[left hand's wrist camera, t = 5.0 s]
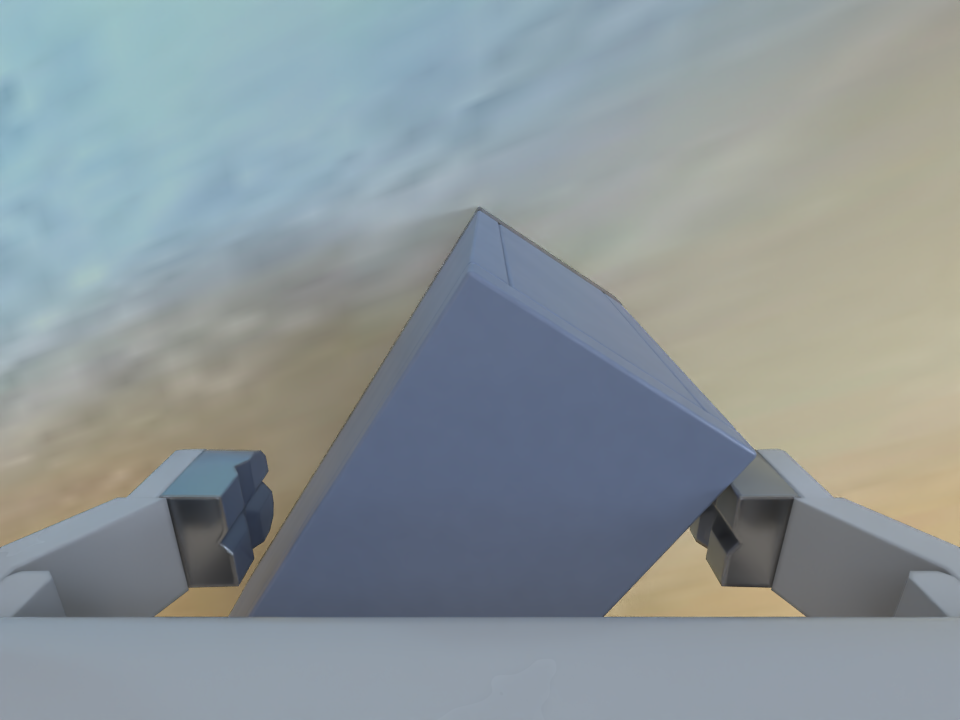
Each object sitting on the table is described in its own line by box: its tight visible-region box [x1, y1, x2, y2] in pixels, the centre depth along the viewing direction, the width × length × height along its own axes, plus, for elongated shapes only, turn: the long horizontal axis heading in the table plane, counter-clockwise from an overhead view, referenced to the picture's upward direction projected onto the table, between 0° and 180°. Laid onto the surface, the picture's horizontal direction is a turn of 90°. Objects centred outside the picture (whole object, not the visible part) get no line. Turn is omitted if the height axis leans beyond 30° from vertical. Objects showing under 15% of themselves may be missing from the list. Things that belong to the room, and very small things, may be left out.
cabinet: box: [228, 207, 757, 617], centre depth 15 cm, size 17×5×10 cm, turn 147°
